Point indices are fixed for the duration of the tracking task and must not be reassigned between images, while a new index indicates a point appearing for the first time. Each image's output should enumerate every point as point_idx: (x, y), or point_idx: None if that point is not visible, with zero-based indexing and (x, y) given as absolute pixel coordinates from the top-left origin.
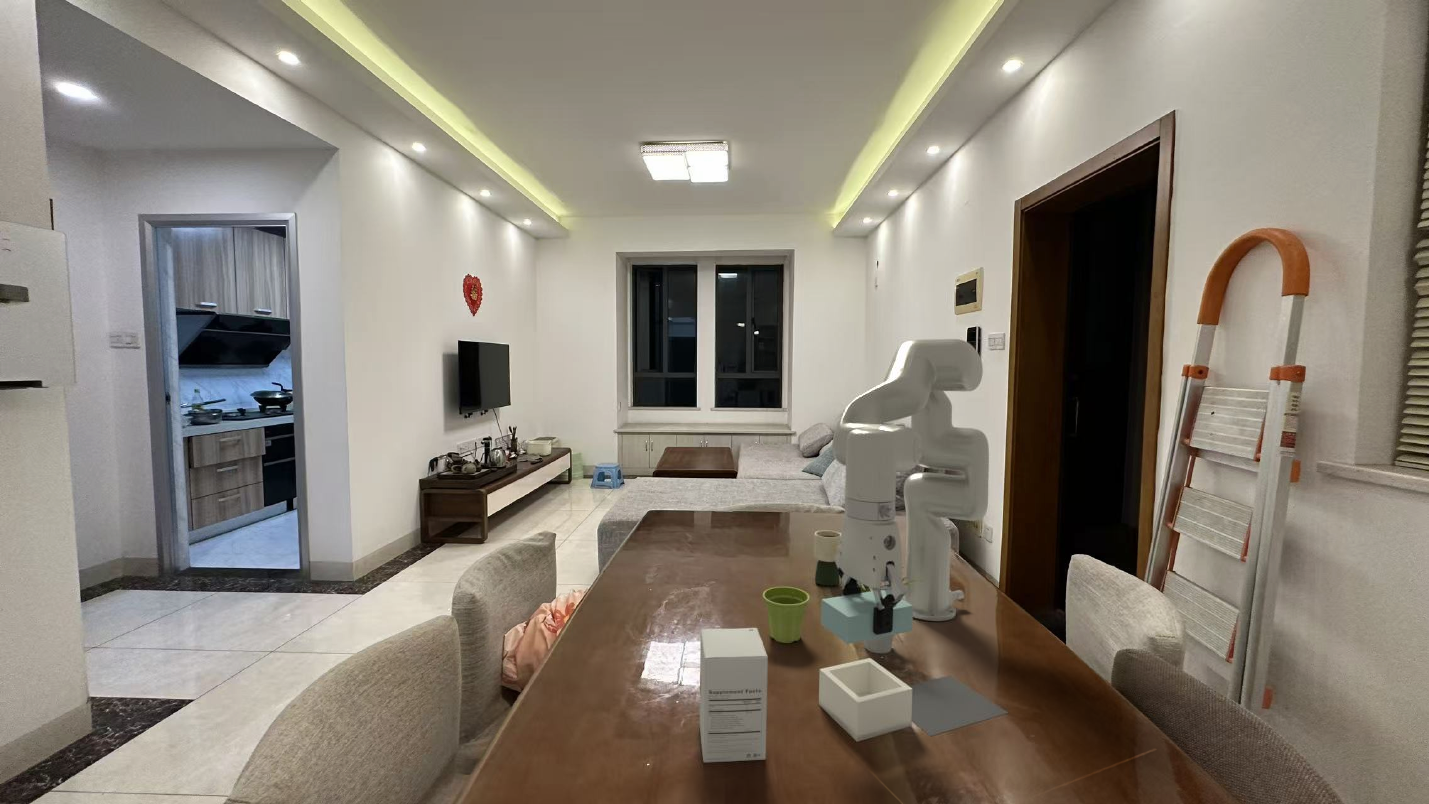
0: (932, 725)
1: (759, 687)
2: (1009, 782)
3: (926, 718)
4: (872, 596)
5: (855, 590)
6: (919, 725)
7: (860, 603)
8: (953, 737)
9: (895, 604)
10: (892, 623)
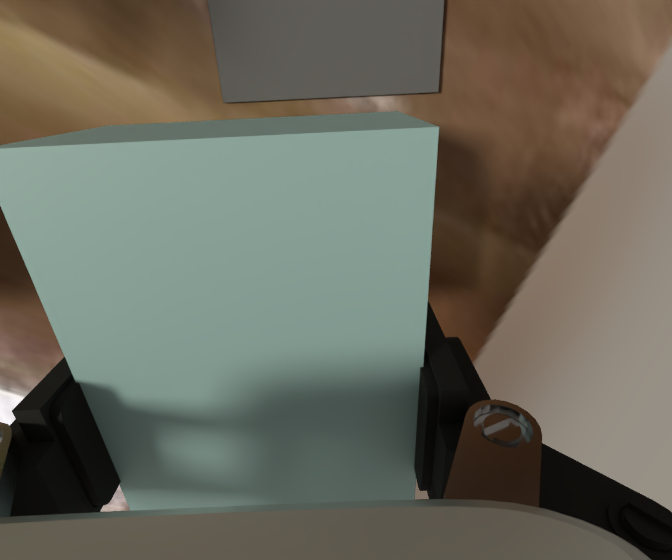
0: (405, 48)
1: None
2: (649, 20)
3: (374, 41)
4: (157, 342)
5: (79, 443)
6: (391, 89)
7: (266, 467)
8: (464, 23)
9: (573, 467)
10: (431, 312)
